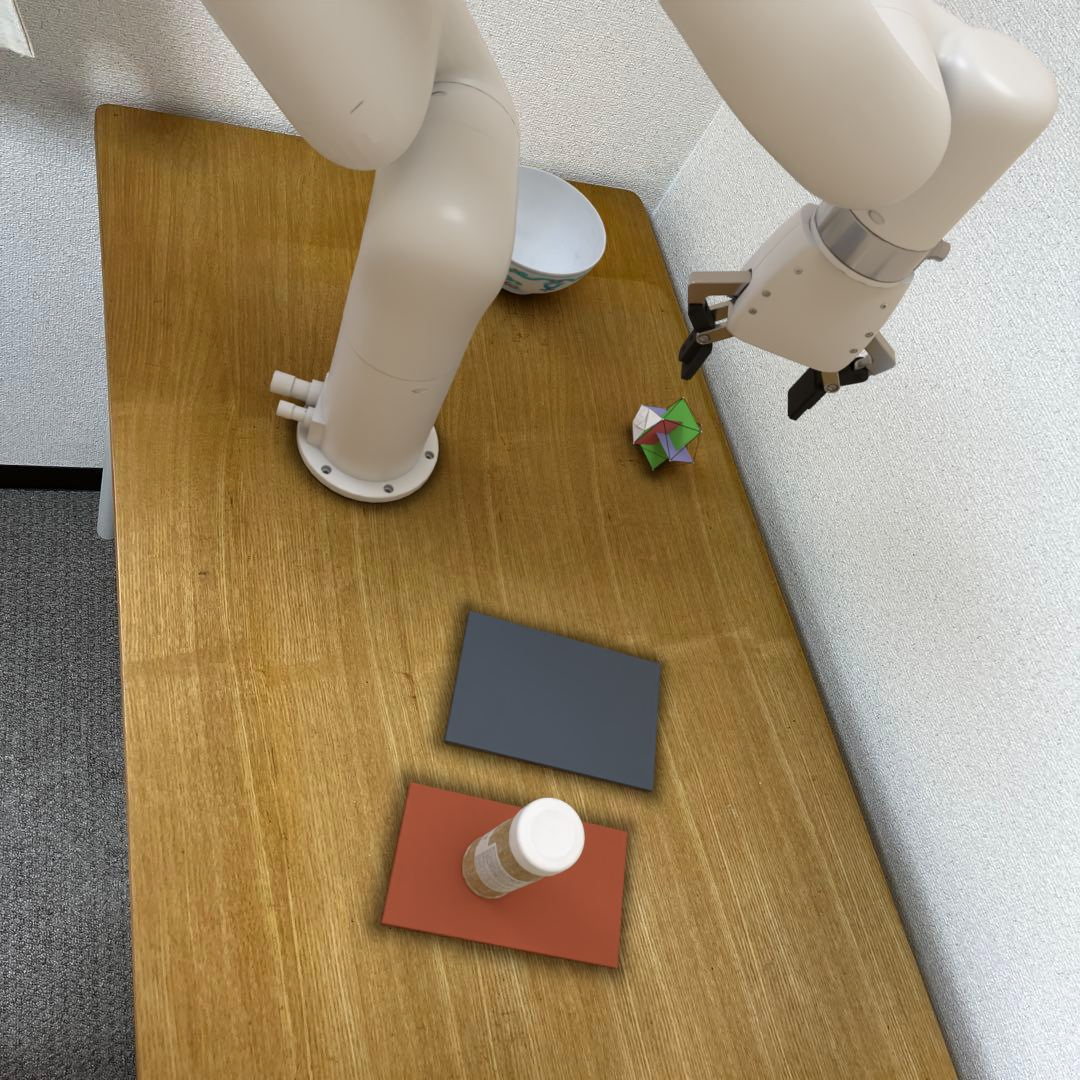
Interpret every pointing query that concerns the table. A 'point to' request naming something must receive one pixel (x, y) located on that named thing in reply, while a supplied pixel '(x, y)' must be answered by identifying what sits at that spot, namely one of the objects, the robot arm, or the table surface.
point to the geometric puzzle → (665, 432)
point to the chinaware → (552, 234)
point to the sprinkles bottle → (524, 849)
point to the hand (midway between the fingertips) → (738, 387)
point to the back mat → (555, 703)
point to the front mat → (519, 916)
